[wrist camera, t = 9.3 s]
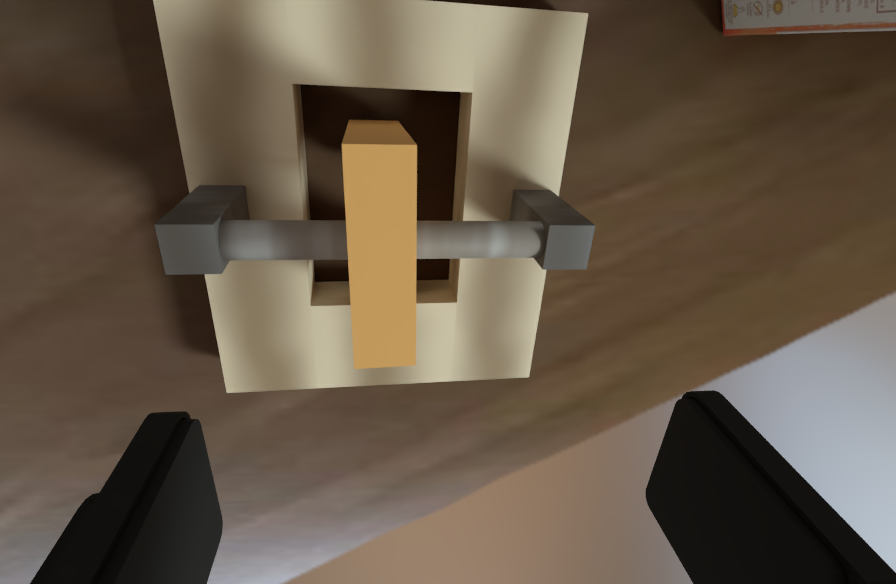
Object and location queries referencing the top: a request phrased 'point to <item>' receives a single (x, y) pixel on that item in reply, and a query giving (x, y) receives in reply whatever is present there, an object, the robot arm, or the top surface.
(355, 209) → the tan wooden block
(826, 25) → the cracker box
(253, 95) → the square frame with handle
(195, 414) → the top surface
